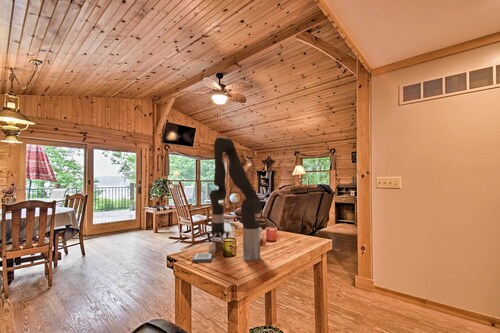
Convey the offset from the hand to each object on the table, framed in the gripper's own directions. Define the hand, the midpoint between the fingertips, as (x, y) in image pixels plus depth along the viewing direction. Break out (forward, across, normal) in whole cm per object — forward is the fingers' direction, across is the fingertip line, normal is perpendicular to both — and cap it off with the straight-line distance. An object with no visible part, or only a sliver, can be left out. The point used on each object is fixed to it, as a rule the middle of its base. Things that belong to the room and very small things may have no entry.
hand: (218, 248), depth 152 cm
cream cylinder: (+1, +3, +7) cm, 8 cm away
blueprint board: (+1, +7, +16) cm, 17 cm away
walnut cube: (+1, 0, 0) cm, 1 cm away
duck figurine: (+1, -26, -15) cm, 30 cm away
